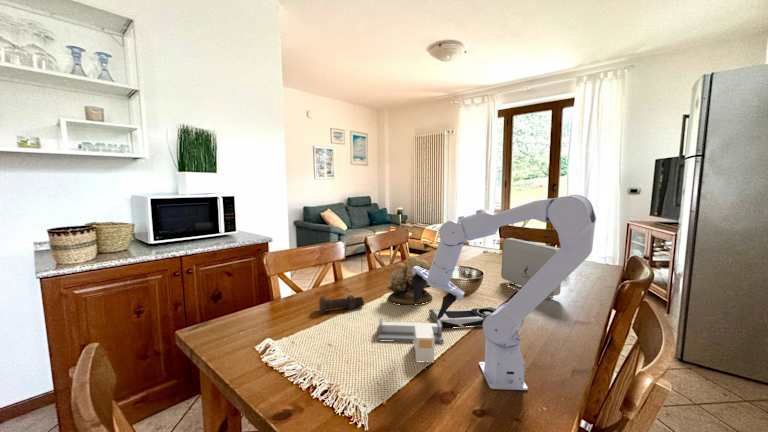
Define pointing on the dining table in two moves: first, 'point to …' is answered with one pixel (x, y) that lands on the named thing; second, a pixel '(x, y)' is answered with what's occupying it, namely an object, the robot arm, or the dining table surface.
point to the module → (424, 342)
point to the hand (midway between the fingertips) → (427, 308)
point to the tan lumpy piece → (407, 283)
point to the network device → (525, 261)
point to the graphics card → (462, 317)
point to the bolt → (339, 303)
